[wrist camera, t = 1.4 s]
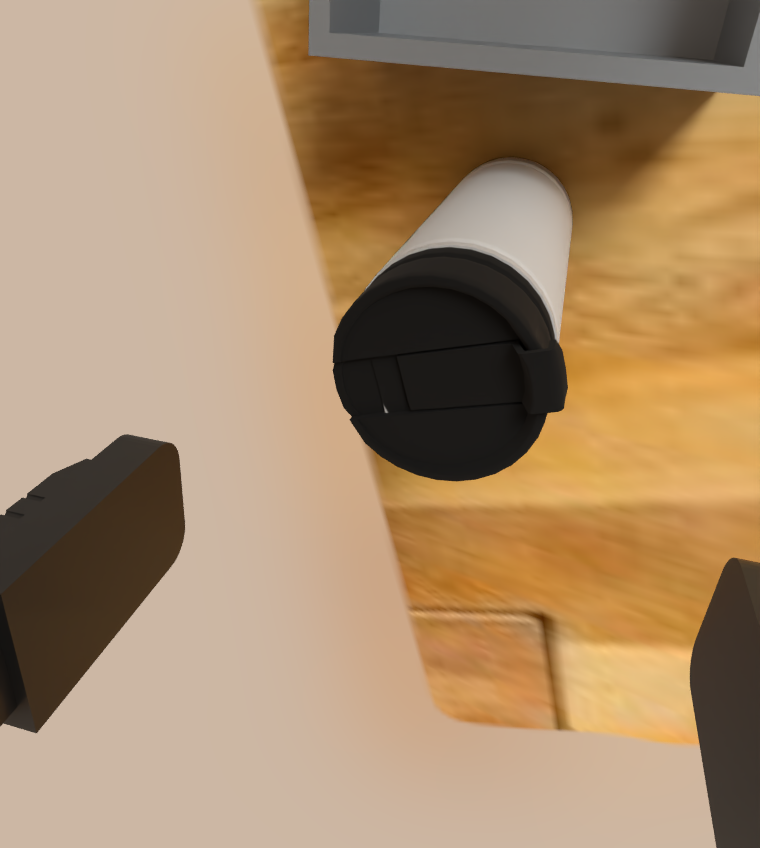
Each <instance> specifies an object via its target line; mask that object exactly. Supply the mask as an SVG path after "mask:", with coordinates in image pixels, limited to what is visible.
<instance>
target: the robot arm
mask: <svg viewBox="0 0 760 848" xmlns="http://www.w3.org/2000/svg"><path fill="white" fill-rule="evenodd" d="M183 508H184V507H183V496H182V484H181V472H180V460H179V454H178V450H177V448H176V447H175V446H174V445H173V444H172V443H167V442H163V441H157V440H153V439H148V438H143V437H137V436H133V435H122V436H120V437H119V438H117V439H116V440H115V441H114V442H112V443H111V444H110V445H109V446H108V447H106V448H105V449H104V450H103V451H102V452H100V453H99V454H98V455H97V456H95V457H94V458H93V459H92V460H89V459H85V460H83V461H81V462H78V463H76V464H74V465H71V466H69V467H67V468H64V469H62V470H60V471H58V472H55V473H53V474H52V475H50V476H49V477H48V478H46V479H45V480H44V481H43V482H41V483H40V484H39V485H38V486H36V487H35V488H34V489H33V490H31V491H30V492H29V493H28V494H27V498H21V499H20V500H19V501H18V502H16V503H15V504H14V505H12V506H11V507H10V508H9V509H7V510H6V514H5V515H0V726H1V725H2V724H3V723H4V724H7V725H11V726H14V727H17V728H21V729H24V730H27V731H31V732H34V733H37V732H38V731H39V730H40V728H41V727H42V726H43V725H44V723H45V722H46V721H47V720H48V719H49V717H50V716H51V715H52V714H53V712H54V711H55V710H56V708H57V707H58V706H59V705H60V704H61V702H62V701H63V700H64V699H65V697H66V696H67V695H68V694H69V692H70V691H71V690H72V689H73V687H74V686H75V685H76V684H77V683H78V681H79V680H80V678H81V677H82V676H83V675H84V674H85V672H86V671H87V670H88V669H89V668H90V666H91V665H92V664H93V663H94V661H95V660H96V659H97V658H98V657H99V655H100V654H101V653H102V652H103V650H104V649H105V648H106V647H107V645H108V644H109V643H110V641H111V640H112V639H113V638H114V637H115V635H116V634H117V633H118V632H119V630H120V629H121V628H122V627H123V626H124V624H125V623H126V622H127V620H128V619H129V618H130V617H131V616H132V614H133V613H134V612H135V610H136V609H137V608H138V607H139V606H140V604H141V603H142V602H143V601H144V599H145V598H146V597H147V596H148V594H149V593H150V592H151V591H152V589H153V588H154V587H155V586H156V584H157V583H158V582H159V581H160V580H161V578H162V577H163V576H164V575H165V573H166V572H167V571H168V570H169V568H170V567H171V566H172V564H173V563H174V562H175V560H176V558H177V556H178V554H179V552H180V549H181V546H182V543H183V539H184V533H185V519H184V509H183ZM690 688H691V695H692V701H693V707H694V713H695V719H696V725H697V731H698V737H699V743H700V750H701V756H702V762H703V768H704V774H705V780H706V786H707V792H708V798H709V804H710V811H711V817H712V823H713V828H714V835H715V841H716V847H717V848H760V563H758V562H753V561H748V560H743V559H738V558H731V559H730V560H729V561H728V562H727V563H726V565H725V567H724V569H723V571H722V574H721V576H720V579H719V581H718V584H717V586H716V589H715V592H714V594H713V597H712V599H711V602H710V604H709V607H708V610H707V612H706V615H705V617H704V620H703V622H702V625H701V627H700V630H699V633H698V635H697V638H696V641H695V644H694V647H693V652H692V657H691V665H690Z"/></svg>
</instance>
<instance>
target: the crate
mask: <svg viewBox="0 0 760 848" xmlns="http://www.w3.org/2000/svg"><path fill="white" fill-rule="evenodd" d="M309 55H310V56H321V57H333V58H344V59H355V60H366V61H377V62H388V63H399V64H410V65H421V66H433V67H444V68H455V69H466V70H477V71H488V72H499V73H510V74H521V75H532V76H544V77H555V78H566V79H577V80H588V81H599V82H610V83H621V84H632V85H644V86H655V87H666V88H677V89H688V90H699V91H710V92H721V93H732V94H743V95H755V96H760V0H309Z"/></svg>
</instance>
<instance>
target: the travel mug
mask: <svg viewBox="0 0 760 848" xmlns="http://www.w3.org/2000/svg"><path fill="white" fill-rule="evenodd" d="M572 226H573V216H572V207H571V203H570V199H569V196H568V194H567V192H566V190H565V188H564V186H563V185H562V184H561V182H560V181H559V180H558V178H557V177H556V176H555V175H554V174H553V173H552V172H550V171H549V170H548V169H547V168H545V167H543V166H542V165H540V164H538V163H536V162H534V161H530V160H527V159H524V158H514V157H508V158H499V159H495V160H492V161H489V162H486V163H484V164H482V165H480V166H479V167H477V168H475V169H474V170H472V171H471V172H470V173H469V174H468V175H467V176H465V177H464V178H463V179H462V181H461V182H460V183H459V184H458V185H457V186H456V187H455V188H454V189H453V191H452V192H451V193H450V194H449V195H448V196H447V197H446V198H445V199H444V200H443V202H442V203H441V204H440V205H439V206H438V207H437V208H436V209H435V210H434V212H433V213H432V214H431V215H430V216H429V217H428V218H427V219H426V220H425V221H424V223H423V224H422V225H421V226H420V227H419V228H418V229H417V230H416V231H415V233H414V234H413V235H412V236H411V237H410V238H409V239H408V240H407V241H406V242H405V244H404V245H403V246H402V247H401V248H400V249H399V250H398V251H397V252H396V254H395V255H394V256H393V257H392V258H391V259H390V260H389V261H388V262H387V263H386V265H385V266H384V267H383V268H382V269H381V270H380V271H379V272H378V273H377V275H376V276H375V277H374V278H373V280H372V281H371V282H370V284H369V285H368V286H367V288H366V289H365V290H364V292H363V293H362V294H361V295H360V296H359V298H358V299H357V300H356V301H355V302H354V303H353V304H352V306H351V307H350V308H349V310H348V311H347V312H346V314H345V315H344V316H343V318H342V319H341V322H340V324H339V326H338V328H337V331H336V333H335V335H334V349H333V363H334V368H333V374H334V379H335V384H336V389H337V392H338V394H339V397H340V399H341V402H342V404H343V407H344V408H345V409H346V411H347V412H348V413H349V414H350V415H351V416H352V417H351V419H350V421H351V422H352V424H353V426H354V427H355V429H356V430H357V432H358V433H359V435H360V436H361V438H362V439H363V441H364V442H365V443H366V444H367V445H368V446H369V447H370V448H372V449H373V450H374V451H375V452H376V453H377V454H379V455H380V456H381V457H383V458H384V459H386V460H388V461H389V462H391V463H392V464H394V465H396V466H397V467H399V468H402V469H404V470H406V471H409V472H411V473H414V474H416V475H419V476H423V477H427V478H431V479H435V480H446V481H464V480H475V479H479V478H482V477H486V476H489V475H493V474H496V473H497V472H499V471H501V470H503V469H505V468H507V467H509V466H511V465H512V464H514V463H515V462H516V461H517V460H518V459H520V458H521V457H522V456H523V455H524V454H525V453H527V451H528V450H529V449H530V447H531V446H532V445H533V443H534V442H535V441H536V439H537V438H538V437H539V434H540V432H541V430H542V427H543V425H544V423H545V419H546V416H547V413H551V412H559V411H561V410H563V409H564V403H565V397H566V393H567V389H568V385H567V375H566V367H565V362H564V356H563V351H562V349H561V347H560V345H559V337H560V328H561V320H562V311H563V303H564V294H565V285H566V277H567V268H568V260H569V251H570V243H571V234H572Z"/></svg>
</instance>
